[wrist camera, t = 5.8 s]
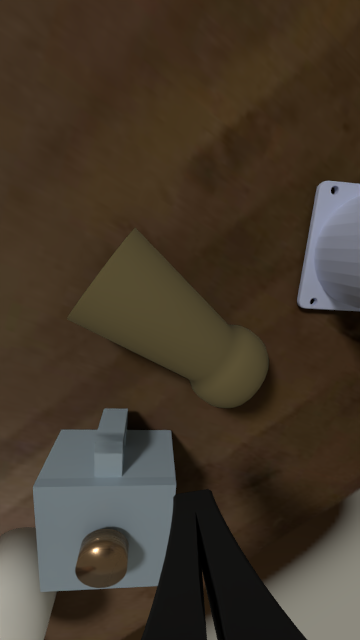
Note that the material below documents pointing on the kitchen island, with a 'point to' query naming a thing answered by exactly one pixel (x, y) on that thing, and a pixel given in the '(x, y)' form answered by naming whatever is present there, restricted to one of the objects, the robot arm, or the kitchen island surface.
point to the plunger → (102, 558)
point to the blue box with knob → (105, 499)
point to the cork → (171, 325)
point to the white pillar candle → (22, 588)
